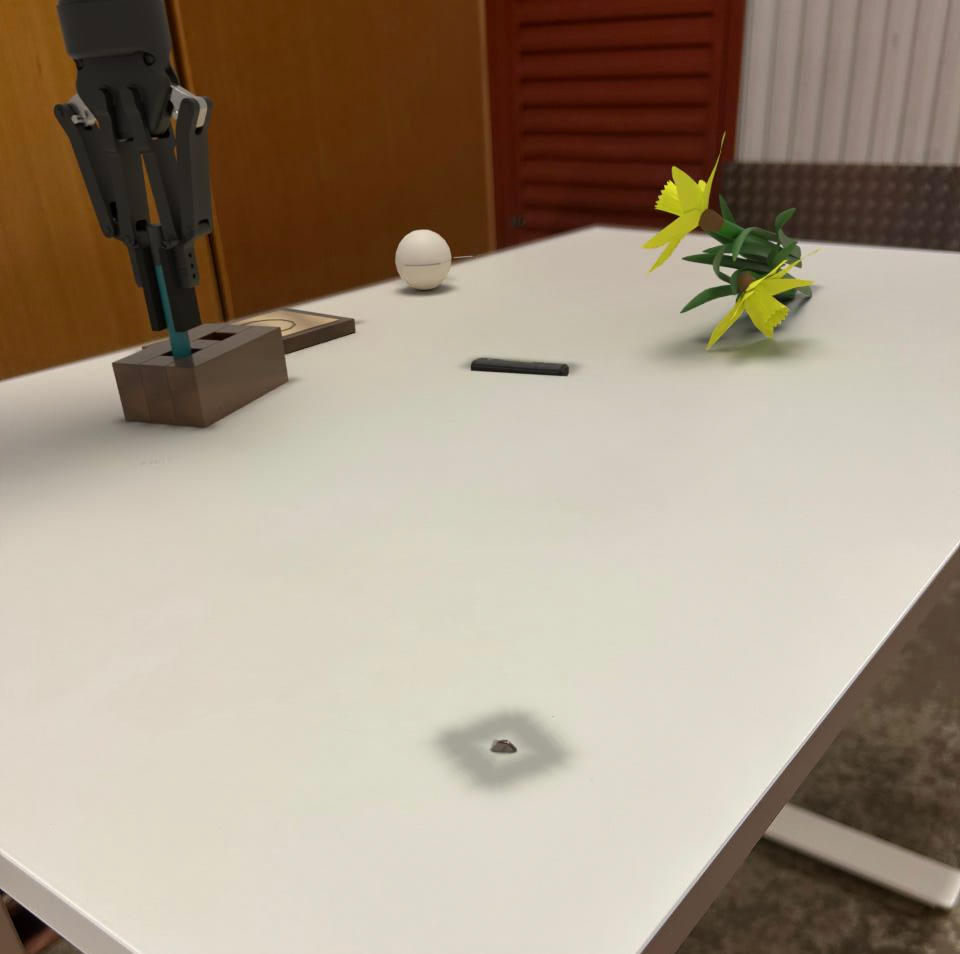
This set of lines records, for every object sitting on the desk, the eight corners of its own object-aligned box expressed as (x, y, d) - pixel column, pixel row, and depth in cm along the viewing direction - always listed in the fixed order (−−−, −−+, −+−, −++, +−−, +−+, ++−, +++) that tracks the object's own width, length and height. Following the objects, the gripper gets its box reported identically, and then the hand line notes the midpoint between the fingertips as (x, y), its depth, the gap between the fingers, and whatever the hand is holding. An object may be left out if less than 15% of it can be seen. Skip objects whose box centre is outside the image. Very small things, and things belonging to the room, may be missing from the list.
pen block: (127, 432, 86) (111, 362, 82) (217, 386, 96) (205, 323, 93) (207, 439, 83) (193, 368, 80) (290, 391, 94) (280, 326, 91)
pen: (181, 421, 87) (140, 226, 79) (193, 415, 88) (154, 222, 80) (197, 423, 86) (158, 226, 78) (209, 417, 88) (171, 222, 80)
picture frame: (213, 376, 99) (210, 359, 98) (144, 360, 106) (140, 344, 105) (356, 332, 112) (354, 317, 111) (286, 320, 119) (284, 306, 118)
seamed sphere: (390, 295, 128) (384, 235, 124) (407, 283, 134) (402, 225, 130) (464, 295, 126) (461, 234, 122) (479, 283, 132) (476, 224, 128)
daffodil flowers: (879, 309, 113) (816, 284, 83) (759, 370, 121) (663, 366, 91) (821, 172, 112) (738, 97, 83) (705, 242, 120) (591, 196, 91)
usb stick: (572, 376, 93) (571, 360, 92) (562, 384, 91) (562, 368, 90) (480, 369, 97) (479, 353, 96) (469, 377, 95) (468, 361, 94)
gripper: (224, -13, 72) (275, 320, 84) (63, 2, 77) (134, 314, 89) (160, -16, 66) (225, 343, 78) (-9, 0, 71) (77, 335, 83)
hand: (177, 327), depth 83 cm, fingers closed on pen, 2 cm apart
